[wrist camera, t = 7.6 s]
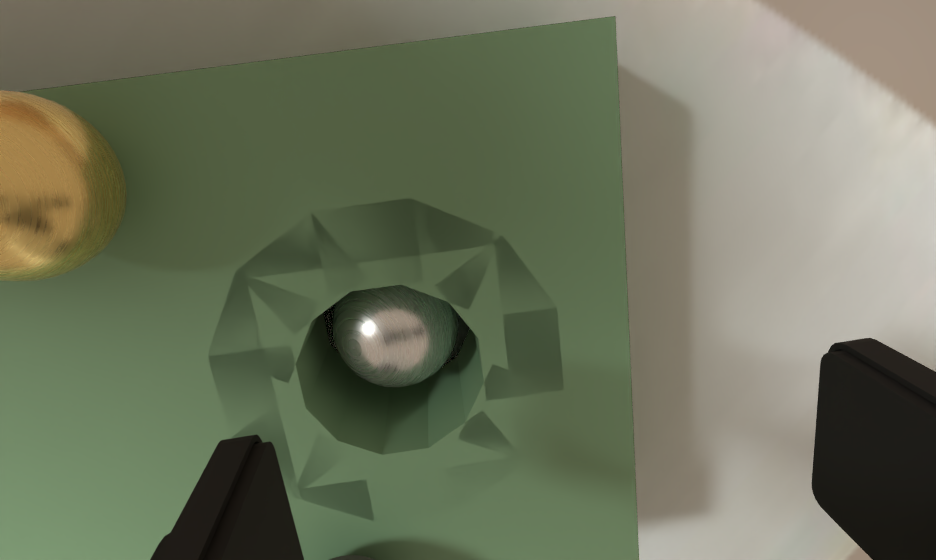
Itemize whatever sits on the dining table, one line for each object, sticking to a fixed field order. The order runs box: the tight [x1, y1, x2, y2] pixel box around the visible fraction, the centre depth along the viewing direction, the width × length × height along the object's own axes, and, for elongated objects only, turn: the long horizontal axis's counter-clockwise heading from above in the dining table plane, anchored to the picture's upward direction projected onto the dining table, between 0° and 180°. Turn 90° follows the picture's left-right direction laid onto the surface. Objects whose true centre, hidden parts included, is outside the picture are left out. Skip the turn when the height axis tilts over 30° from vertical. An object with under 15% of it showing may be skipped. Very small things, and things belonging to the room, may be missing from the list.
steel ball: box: [332, 285, 458, 387], centre depth 17 cm, size 4×4×4 cm
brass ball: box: [0, 90, 127, 281], centre depth 11 cm, size 4×4×4 cm
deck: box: [0, 16, 639, 560], centre depth 17 cm, size 15×20×4 cm
